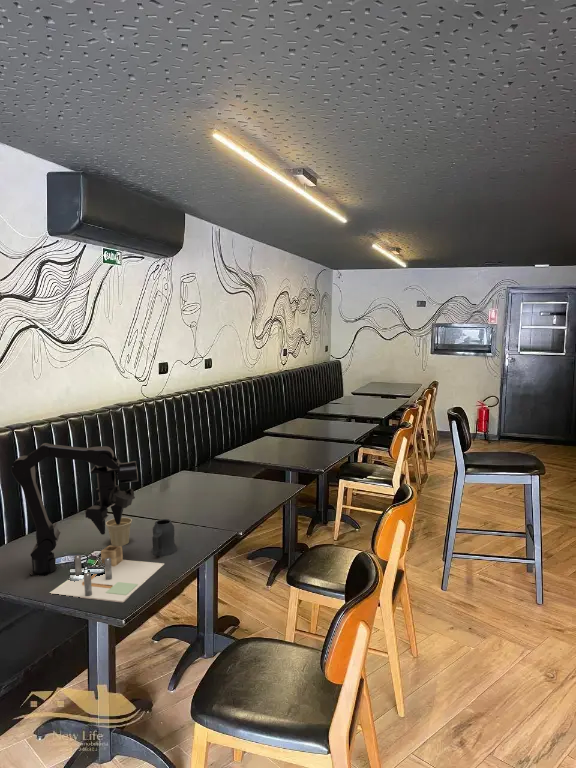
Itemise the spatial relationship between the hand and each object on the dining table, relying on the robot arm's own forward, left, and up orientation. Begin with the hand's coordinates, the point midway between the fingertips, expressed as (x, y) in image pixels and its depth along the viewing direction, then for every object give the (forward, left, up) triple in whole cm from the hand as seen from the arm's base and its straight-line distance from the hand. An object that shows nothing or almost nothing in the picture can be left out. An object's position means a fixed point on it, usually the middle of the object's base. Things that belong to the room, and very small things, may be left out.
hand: (110, 529), depth 187 cm
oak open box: (0, 0, -12) cm, 12 cm away
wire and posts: (+2, -15, -12) cm, 19 cm away
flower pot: (-7, +17, -13) cm, 22 cm away
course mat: (+5, -10, -12) cm, 17 cm away
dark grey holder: (+13, +12, -13) cm, 21 cm away
